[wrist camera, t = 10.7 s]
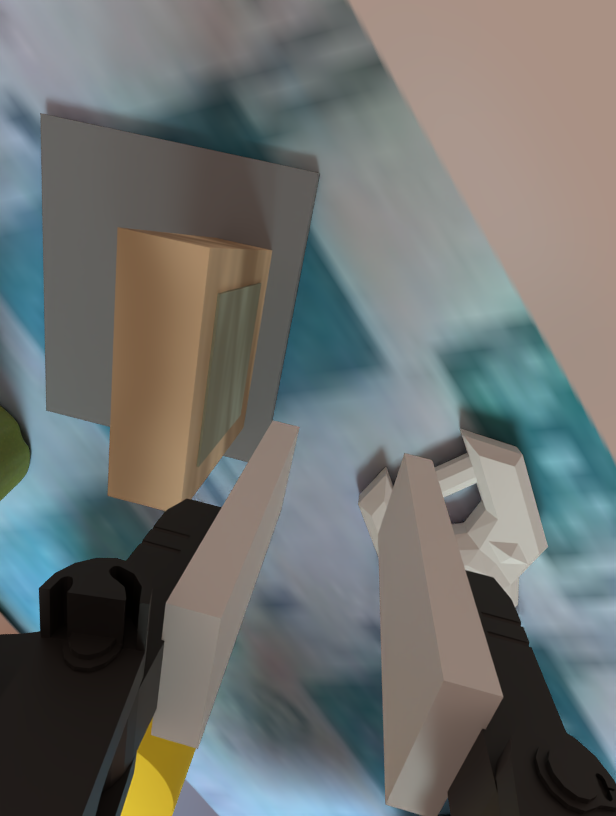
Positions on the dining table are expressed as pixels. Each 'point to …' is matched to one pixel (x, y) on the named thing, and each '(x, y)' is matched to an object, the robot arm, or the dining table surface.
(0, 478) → the plant pot
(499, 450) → the light grey toy spaceship
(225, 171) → the mat
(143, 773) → the yellow paper roll
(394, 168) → the dining table surface
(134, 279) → the rectangular block
